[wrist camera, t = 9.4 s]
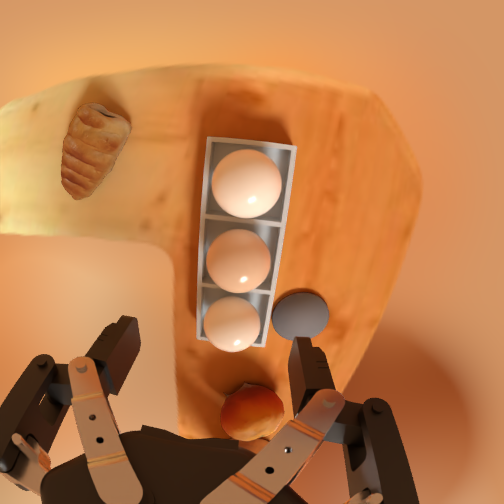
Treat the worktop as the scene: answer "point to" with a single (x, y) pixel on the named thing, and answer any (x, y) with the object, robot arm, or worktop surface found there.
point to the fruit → (251, 412)
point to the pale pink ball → (238, 260)
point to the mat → (300, 316)
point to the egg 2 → (232, 324)
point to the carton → (264, 226)
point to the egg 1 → (246, 183)
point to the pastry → (91, 148)
